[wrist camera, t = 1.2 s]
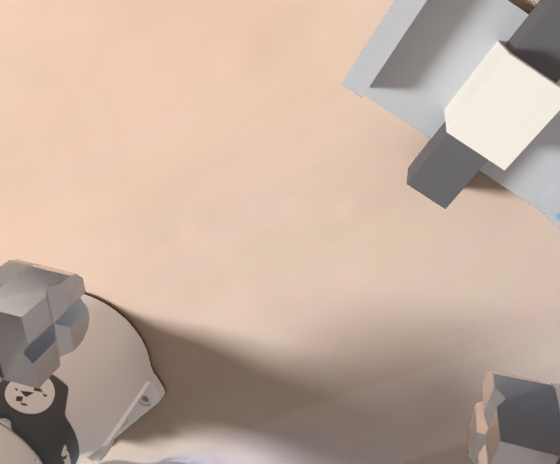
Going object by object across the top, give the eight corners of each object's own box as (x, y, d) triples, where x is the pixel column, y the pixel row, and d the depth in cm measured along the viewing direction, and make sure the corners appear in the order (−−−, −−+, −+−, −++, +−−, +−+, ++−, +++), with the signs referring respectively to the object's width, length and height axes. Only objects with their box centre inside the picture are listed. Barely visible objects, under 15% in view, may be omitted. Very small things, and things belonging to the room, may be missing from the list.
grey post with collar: (450, 195, 36) (452, 226, 32) (402, 163, 36) (399, 191, 32) (612, 8, 29) (645, 16, 25) (554, -33, 29) (576, -31, 24)
